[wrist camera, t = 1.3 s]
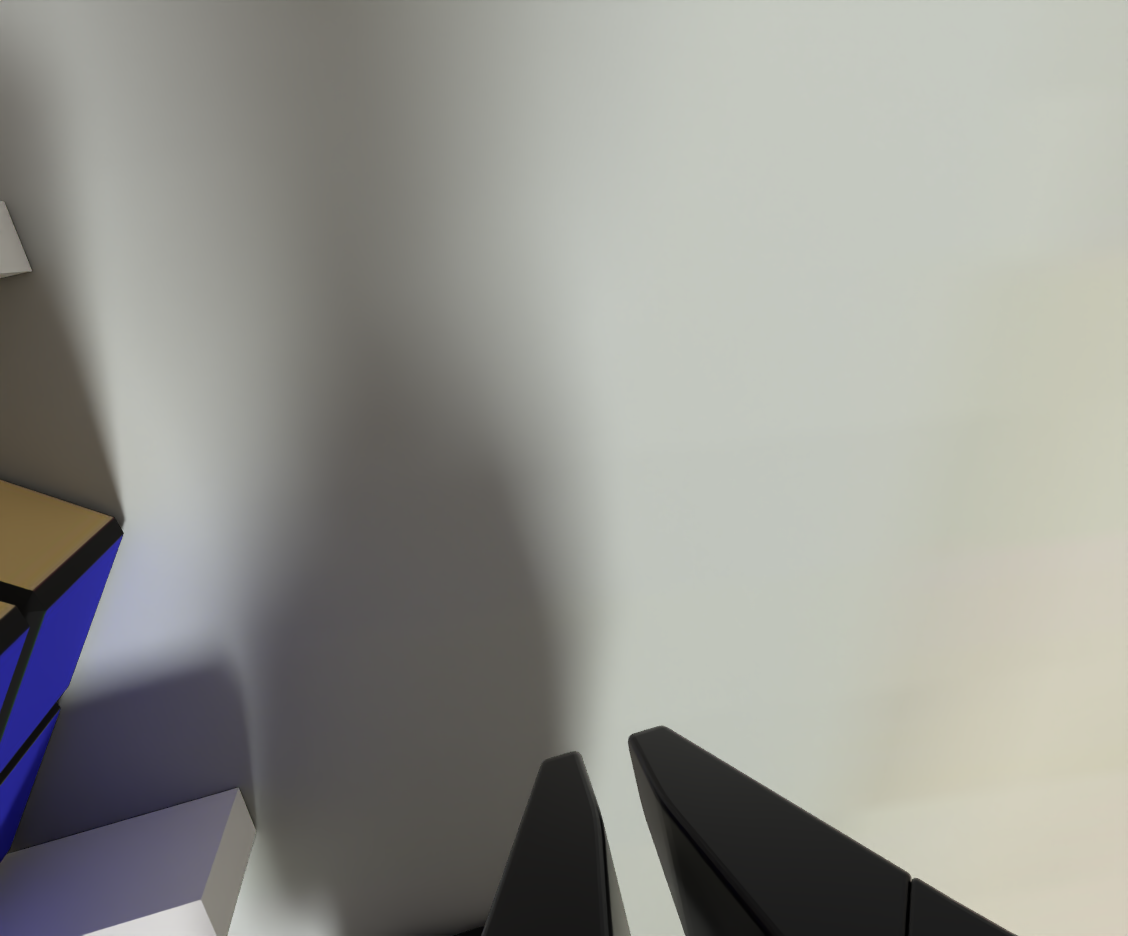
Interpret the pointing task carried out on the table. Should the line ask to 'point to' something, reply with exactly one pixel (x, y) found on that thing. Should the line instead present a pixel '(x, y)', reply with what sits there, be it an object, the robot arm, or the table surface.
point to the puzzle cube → (42, 625)
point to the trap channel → (128, 846)
